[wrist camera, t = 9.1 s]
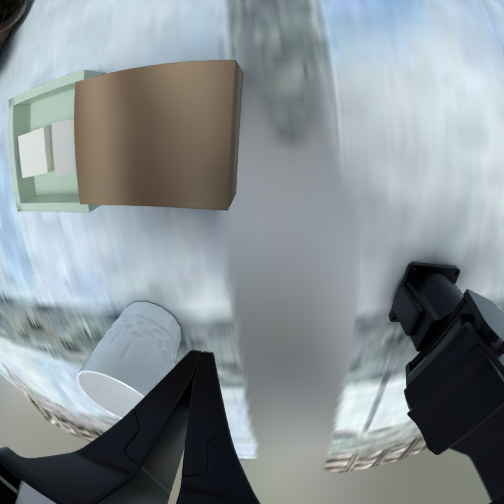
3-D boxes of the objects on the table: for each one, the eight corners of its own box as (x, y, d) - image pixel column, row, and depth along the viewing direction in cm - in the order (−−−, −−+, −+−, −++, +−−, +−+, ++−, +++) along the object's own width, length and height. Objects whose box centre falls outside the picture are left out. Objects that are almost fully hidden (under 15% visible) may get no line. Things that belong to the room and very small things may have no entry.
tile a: (77, 118, 14) (51, 123, 13) (80, 172, 16) (55, 177, 15) (75, 120, 17) (53, 124, 16) (77, 166, 19) (56, 170, 18)
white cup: (113, 289, 25) (63, 359, 16) (185, 302, 25) (150, 388, 16) (127, 343, 29) (93, 409, 20) (189, 356, 29) (166, 432, 20)
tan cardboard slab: (242, 72, 16) (235, 60, 12) (236, 193, 20) (227, 210, 16) (105, 84, 16) (75, 82, 13) (107, 189, 20) (80, 204, 17)
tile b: (18, 136, 15) (32, 133, 17) (22, 178, 17) (36, 172, 19) (43, 127, 15) (58, 124, 17) (47, 173, 17) (62, 167, 19)
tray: (106, 73, 16) (84, 69, 13) (108, 200, 21) (89, 212, 18) (30, 97, 16) (9, 99, 13) (36, 201, 21) (17, 211, 18)
